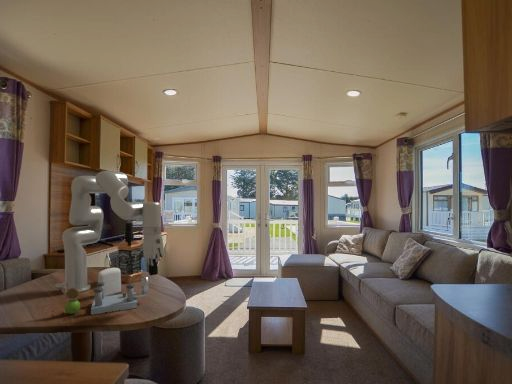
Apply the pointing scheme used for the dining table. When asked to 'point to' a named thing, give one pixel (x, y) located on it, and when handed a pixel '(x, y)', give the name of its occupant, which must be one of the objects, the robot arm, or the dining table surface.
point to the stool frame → (113, 300)
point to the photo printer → (110, 280)
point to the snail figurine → (71, 300)
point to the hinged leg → (143, 288)
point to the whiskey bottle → (129, 257)
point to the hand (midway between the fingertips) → (153, 274)
